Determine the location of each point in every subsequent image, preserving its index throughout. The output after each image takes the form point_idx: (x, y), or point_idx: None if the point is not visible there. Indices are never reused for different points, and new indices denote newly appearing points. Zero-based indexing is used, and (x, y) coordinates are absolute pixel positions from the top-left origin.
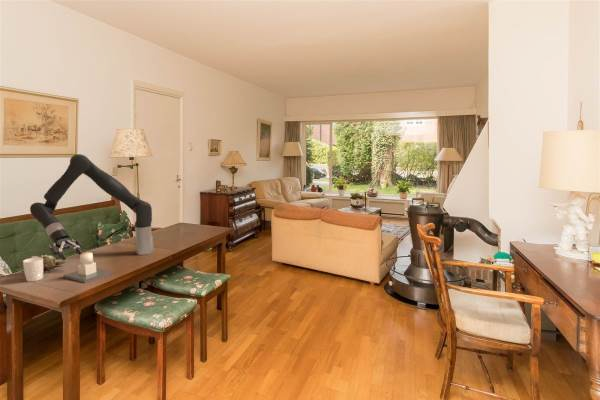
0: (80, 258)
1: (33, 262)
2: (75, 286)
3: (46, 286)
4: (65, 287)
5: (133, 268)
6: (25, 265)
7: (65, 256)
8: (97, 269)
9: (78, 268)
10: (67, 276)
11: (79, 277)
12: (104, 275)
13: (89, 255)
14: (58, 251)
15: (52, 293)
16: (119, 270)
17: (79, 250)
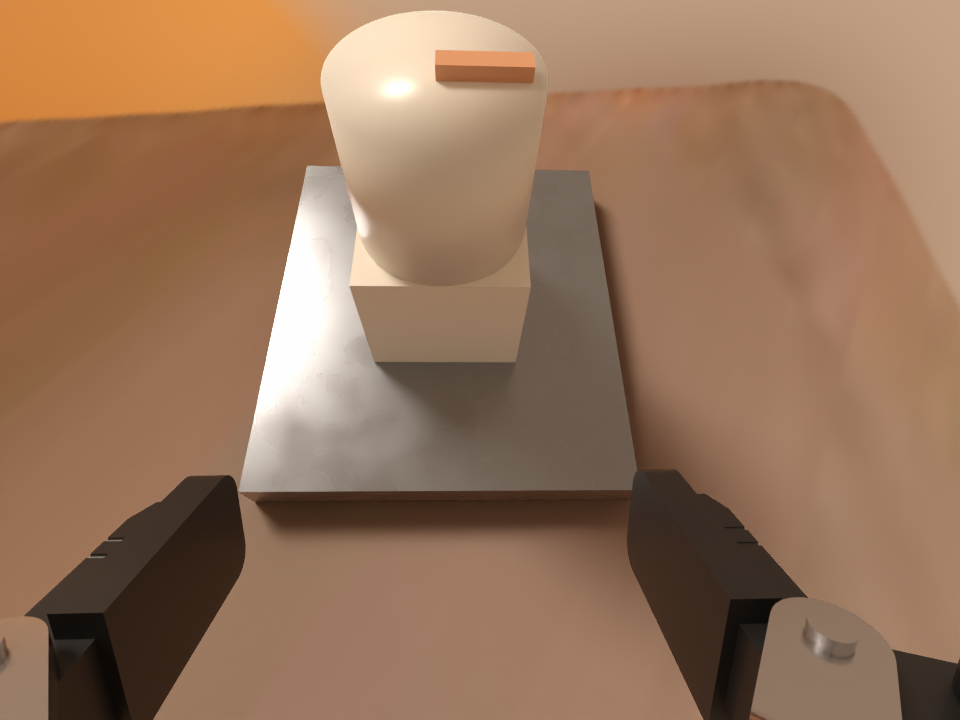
0: (538, 143)
1: None
2: (670, 192)
3: (854, 402)
4: (734, 235)
5: (122, 141)
6: None
7: (652, 482)
8: (310, 309)
9: (522, 317)
10: (624, 414)
11: (580, 254)
12: None
13: (447, 25)
14: (895, 704)
15: (850, 211)
16: (206, 197)
17: (163, 540)
